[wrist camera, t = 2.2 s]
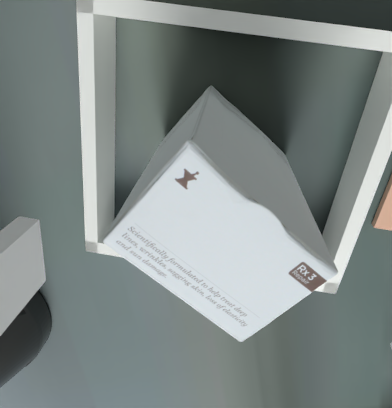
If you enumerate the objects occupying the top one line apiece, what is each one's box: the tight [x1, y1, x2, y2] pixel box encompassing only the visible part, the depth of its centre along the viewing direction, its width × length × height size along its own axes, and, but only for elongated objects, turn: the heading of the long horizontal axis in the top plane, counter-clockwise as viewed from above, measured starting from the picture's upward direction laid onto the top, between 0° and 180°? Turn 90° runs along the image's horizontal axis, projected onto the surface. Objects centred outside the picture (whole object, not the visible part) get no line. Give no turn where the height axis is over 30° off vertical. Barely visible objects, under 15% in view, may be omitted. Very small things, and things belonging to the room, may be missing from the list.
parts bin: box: [76, 0, 392, 294], centre depth 25 cm, size 20×18×4 cm
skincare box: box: [103, 86, 338, 342], centre depth 20 cm, size 8×6×15 cm
